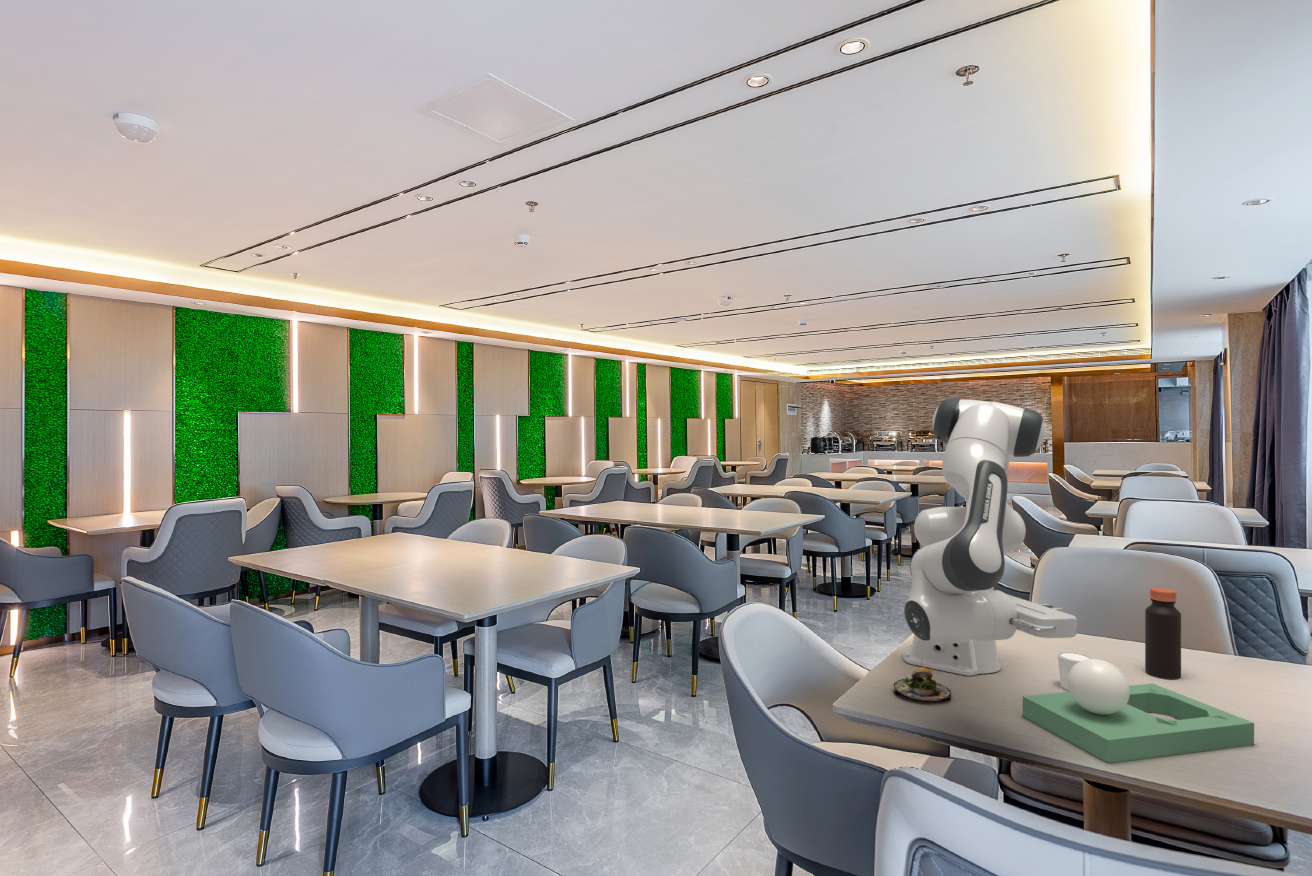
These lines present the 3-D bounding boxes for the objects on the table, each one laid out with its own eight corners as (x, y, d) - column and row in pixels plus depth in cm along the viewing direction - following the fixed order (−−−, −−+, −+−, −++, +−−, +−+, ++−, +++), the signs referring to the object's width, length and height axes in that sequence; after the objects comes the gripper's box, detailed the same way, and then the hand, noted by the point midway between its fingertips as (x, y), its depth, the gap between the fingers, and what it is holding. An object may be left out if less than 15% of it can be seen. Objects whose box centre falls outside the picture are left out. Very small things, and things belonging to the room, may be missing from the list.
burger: (885, 697, 147) (885, 663, 147) (904, 682, 156) (904, 650, 156) (942, 711, 139) (942, 675, 139) (958, 694, 148) (958, 661, 148)
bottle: (1185, 675, 158) (1185, 590, 158) (1175, 682, 154) (1175, 595, 154) (1150, 667, 164) (1150, 585, 164) (1140, 673, 160) (1140, 589, 159)
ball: (1068, 717, 126) (1068, 664, 126) (1065, 698, 135) (1065, 648, 135) (1133, 728, 121) (1133, 672, 121) (1125, 708, 130) (1125, 656, 130)
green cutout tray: (1108, 763, 117) (1108, 740, 116) (1022, 715, 136) (1022, 696, 136) (1254, 744, 123) (1254, 722, 123) (1152, 702, 143) (1152, 683, 143)
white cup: (1081, 695, 146) (1081, 663, 146) (1050, 685, 153) (1050, 654, 152) (1100, 690, 150) (1100, 658, 150) (1069, 680, 156) (1069, 650, 156)
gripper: (1035, 612, 113) (1104, 607, 116) (956, 585, 133) (1017, 582, 136) (1035, 650, 113) (1104, 644, 116) (956, 617, 133) (1017, 613, 136)
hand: (1056, 610), depth 126 cm, fingers closed
